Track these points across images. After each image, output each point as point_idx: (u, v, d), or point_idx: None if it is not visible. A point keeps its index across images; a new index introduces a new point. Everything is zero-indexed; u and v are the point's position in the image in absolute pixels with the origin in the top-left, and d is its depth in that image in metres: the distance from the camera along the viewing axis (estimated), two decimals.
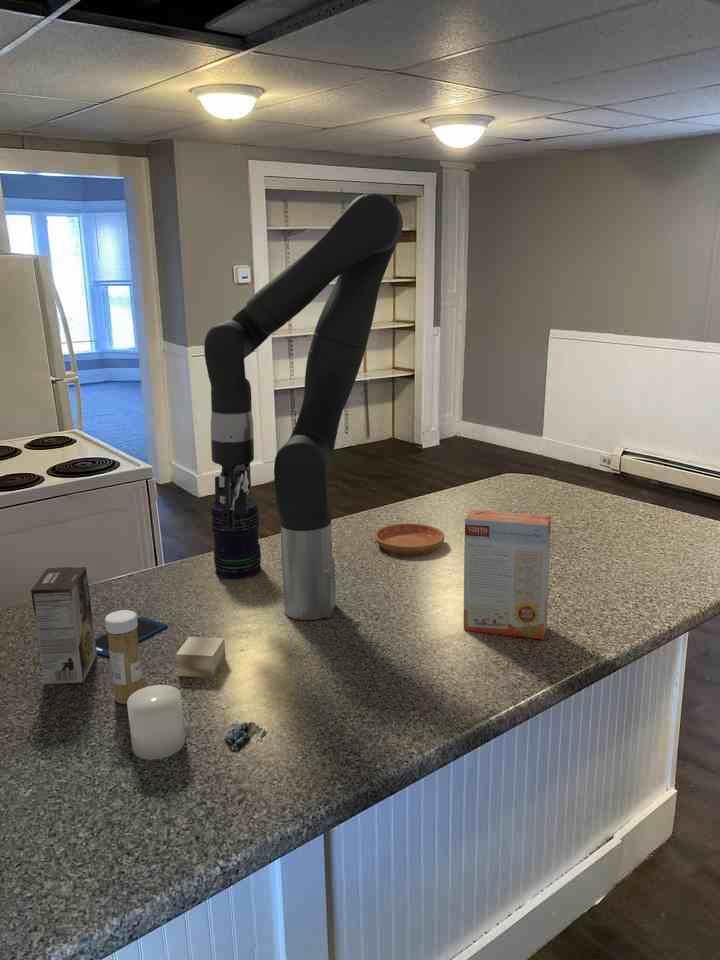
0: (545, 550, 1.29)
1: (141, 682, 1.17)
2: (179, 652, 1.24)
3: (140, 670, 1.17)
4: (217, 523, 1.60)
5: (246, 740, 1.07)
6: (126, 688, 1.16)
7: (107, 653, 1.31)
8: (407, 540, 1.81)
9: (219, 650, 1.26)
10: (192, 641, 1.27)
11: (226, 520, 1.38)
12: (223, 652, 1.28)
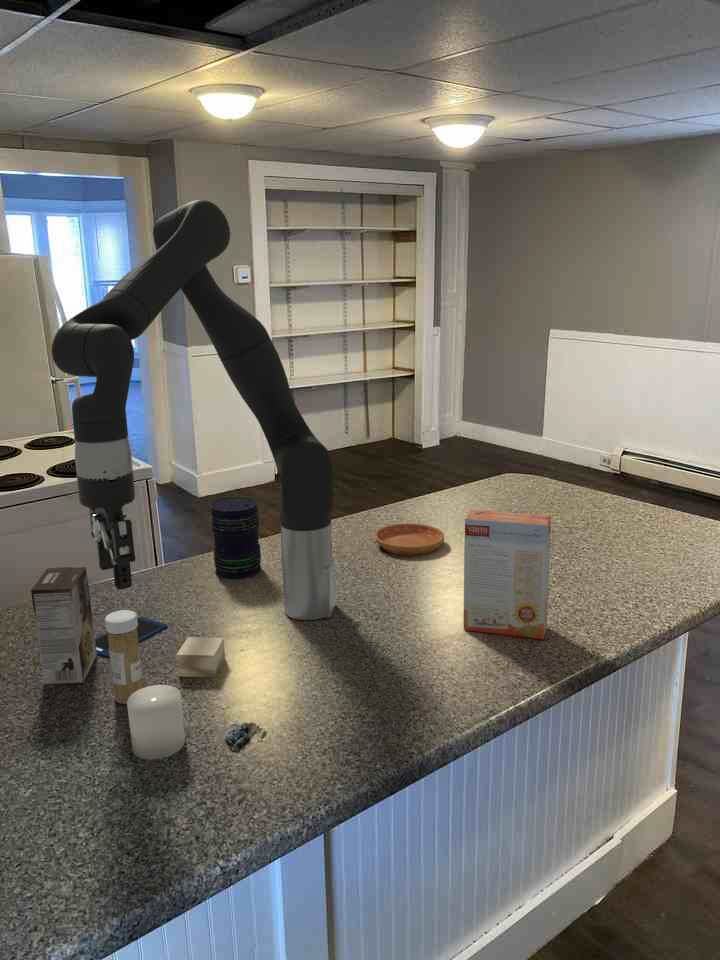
0: (545, 550, 1.29)
1: (141, 682, 1.17)
2: (179, 652, 1.24)
3: (140, 670, 1.17)
4: (217, 523, 1.60)
5: (246, 740, 1.06)
6: (126, 688, 1.16)
7: (107, 653, 1.31)
8: (407, 540, 1.81)
9: (219, 649, 1.26)
10: (191, 641, 1.27)
11: None
12: (223, 651, 1.28)
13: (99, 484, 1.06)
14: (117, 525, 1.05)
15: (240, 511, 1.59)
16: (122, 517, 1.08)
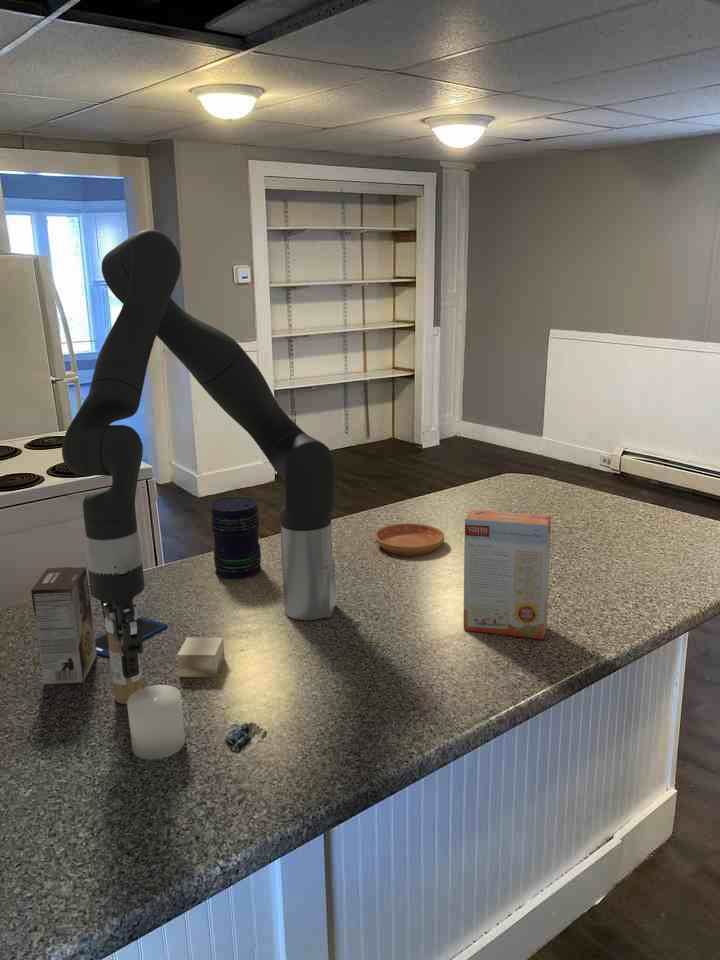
0: (545, 550, 1.29)
1: (141, 681, 1.17)
2: (179, 653, 1.24)
3: (140, 670, 1.17)
4: (217, 523, 1.60)
5: (247, 741, 1.06)
6: (126, 688, 1.16)
7: (107, 653, 1.31)
8: (407, 540, 1.81)
9: (219, 649, 1.26)
10: (191, 641, 1.27)
11: None
12: (222, 651, 1.28)
13: (110, 579, 1.09)
14: (129, 627, 1.09)
15: (240, 511, 1.59)
16: (132, 609, 1.11)
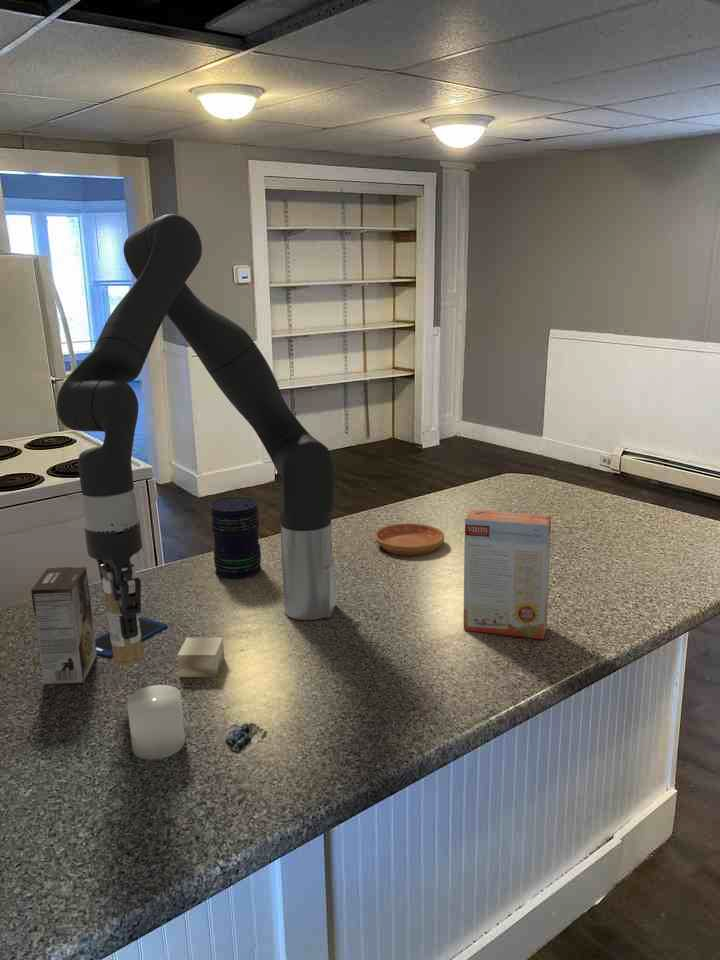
0: (545, 550, 1.29)
1: (140, 643, 1.16)
2: (180, 653, 1.23)
3: (139, 632, 1.15)
4: (217, 523, 1.60)
5: (247, 741, 1.06)
6: (125, 649, 1.14)
7: (107, 653, 1.31)
8: (407, 540, 1.81)
9: (219, 649, 1.26)
10: (191, 642, 1.27)
11: None
12: (222, 651, 1.28)
13: (107, 536, 1.07)
14: (127, 586, 1.07)
15: (240, 511, 1.59)
16: (130, 568, 1.09)
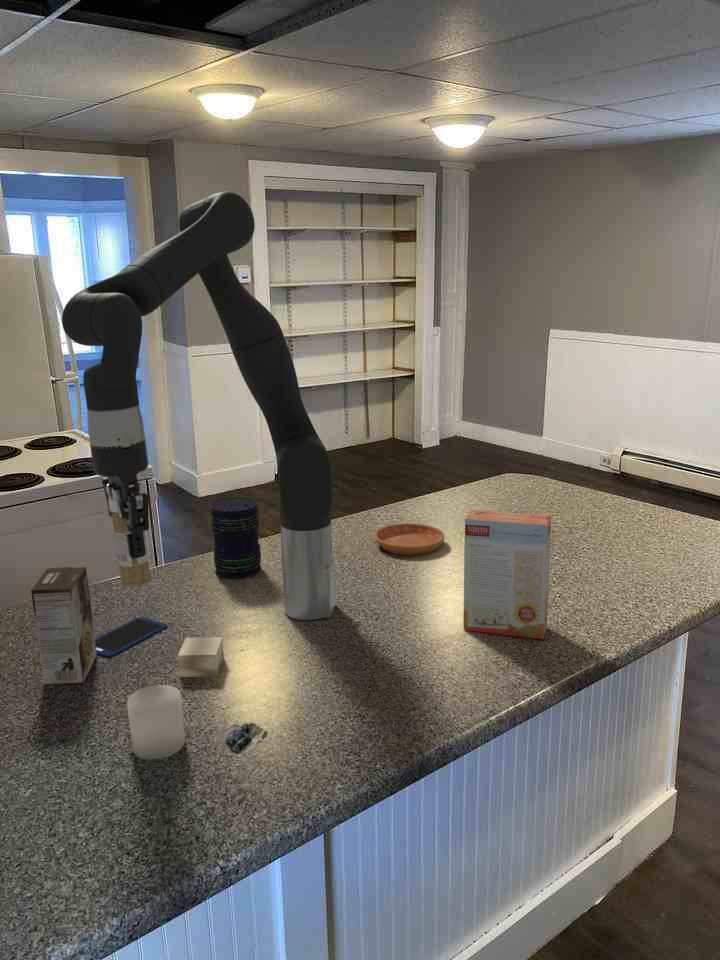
0: (545, 550, 1.29)
1: (147, 565, 1.15)
2: (180, 653, 1.23)
3: (146, 553, 1.15)
4: (217, 523, 1.60)
5: (247, 741, 1.06)
6: (132, 570, 1.14)
7: (108, 653, 1.31)
8: (407, 540, 1.81)
9: (219, 648, 1.26)
10: (190, 642, 1.27)
11: None
12: (222, 650, 1.28)
13: (113, 452, 1.07)
14: (134, 500, 1.07)
15: (240, 511, 1.59)
16: (137, 484, 1.09)
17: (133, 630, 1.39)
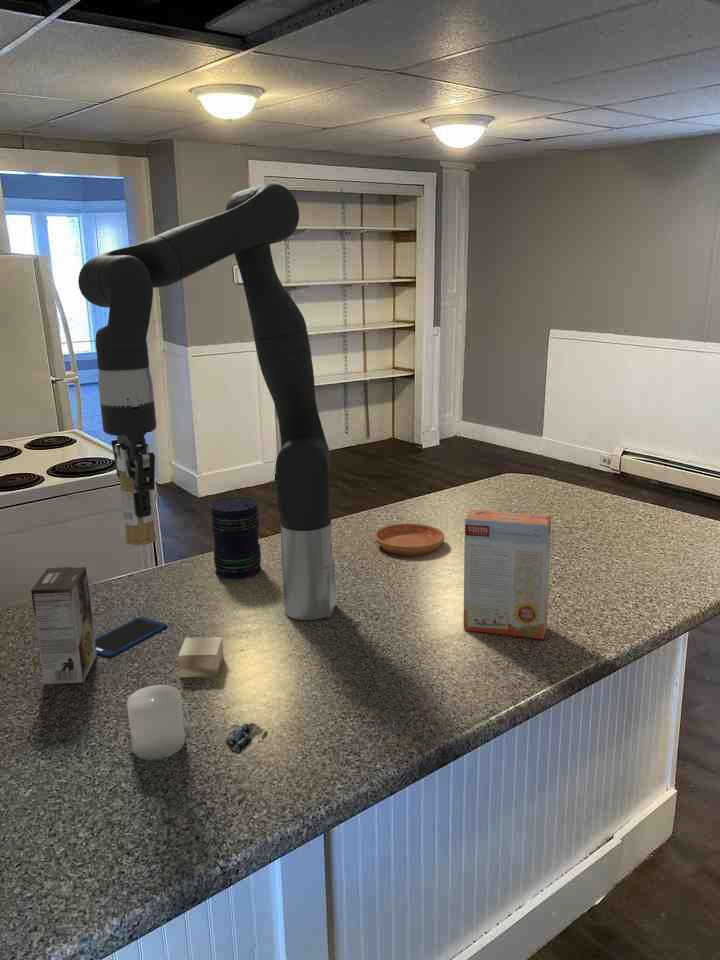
0: (545, 550, 1.29)
1: (152, 524, 1.18)
2: (180, 653, 1.23)
3: (152, 512, 1.18)
4: (217, 523, 1.60)
5: (247, 741, 1.06)
6: (138, 528, 1.16)
7: (108, 653, 1.31)
8: (407, 540, 1.81)
9: (220, 648, 1.26)
10: (190, 642, 1.27)
11: None
12: (222, 650, 1.29)
13: (122, 411, 1.10)
14: (141, 459, 1.09)
15: (240, 511, 1.59)
16: (145, 444, 1.12)
17: (133, 630, 1.39)
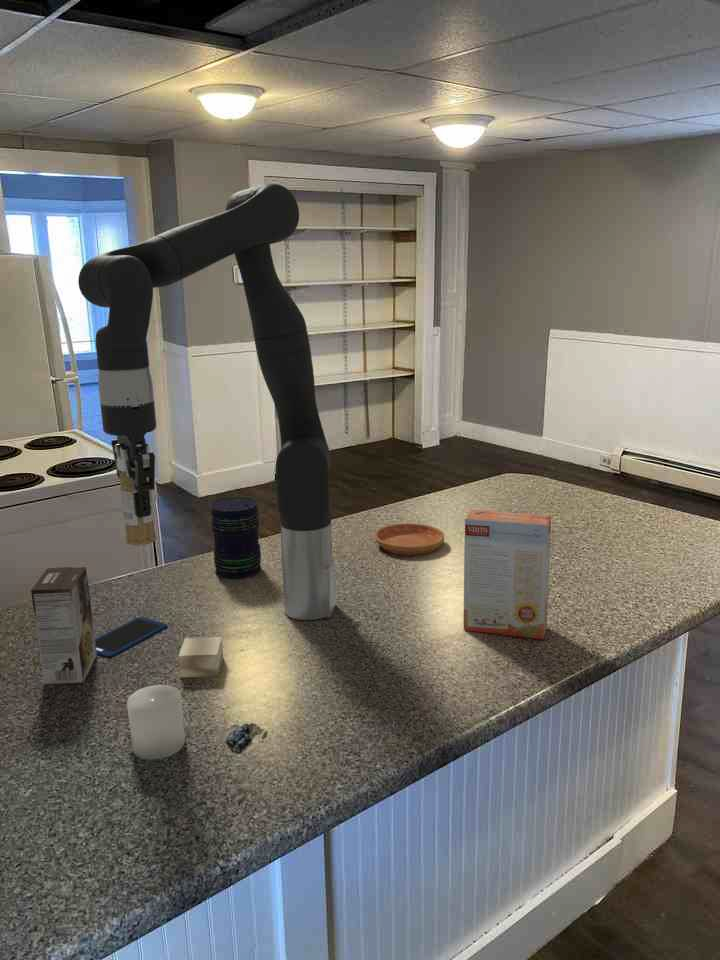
0: (545, 550, 1.29)
1: (152, 524, 1.18)
2: (180, 654, 1.23)
3: (152, 512, 1.18)
4: (217, 523, 1.60)
5: (248, 741, 1.06)
6: (138, 528, 1.16)
7: (108, 653, 1.31)
8: (407, 540, 1.81)
9: (220, 648, 1.26)
10: (190, 642, 1.27)
11: None
12: (222, 650, 1.29)
13: (122, 411, 1.10)
14: (141, 459, 1.09)
15: (240, 511, 1.59)
16: (145, 444, 1.12)
17: (133, 630, 1.39)
